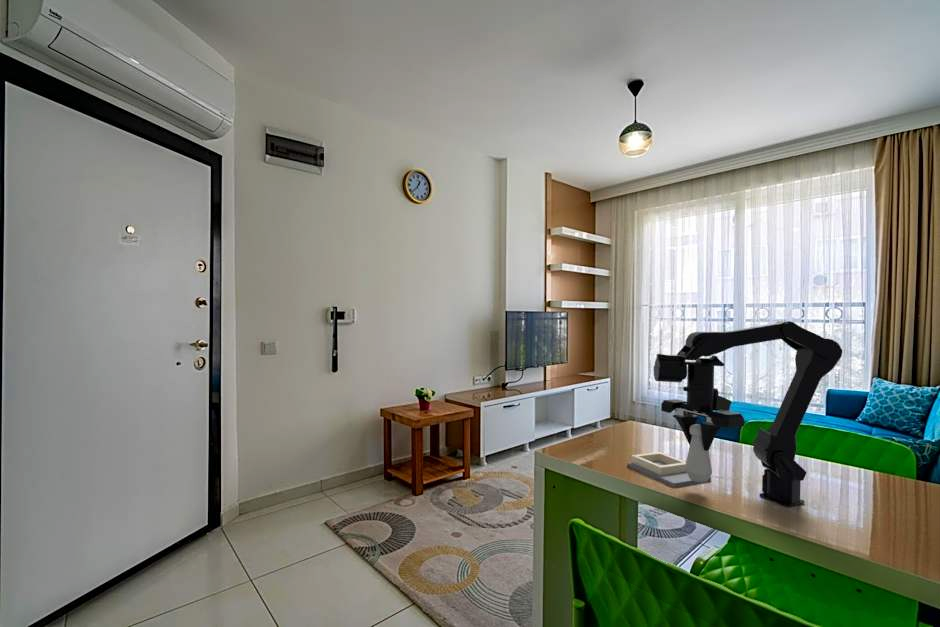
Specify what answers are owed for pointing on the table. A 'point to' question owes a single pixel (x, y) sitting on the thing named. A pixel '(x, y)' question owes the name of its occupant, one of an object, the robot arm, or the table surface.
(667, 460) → the build board
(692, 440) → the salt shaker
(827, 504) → the table surface
